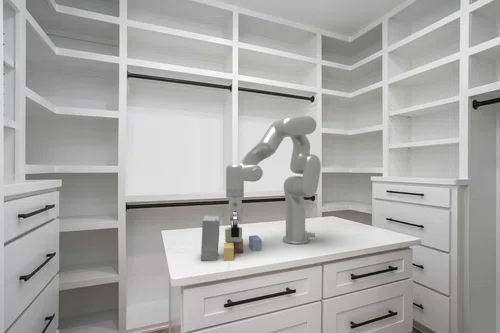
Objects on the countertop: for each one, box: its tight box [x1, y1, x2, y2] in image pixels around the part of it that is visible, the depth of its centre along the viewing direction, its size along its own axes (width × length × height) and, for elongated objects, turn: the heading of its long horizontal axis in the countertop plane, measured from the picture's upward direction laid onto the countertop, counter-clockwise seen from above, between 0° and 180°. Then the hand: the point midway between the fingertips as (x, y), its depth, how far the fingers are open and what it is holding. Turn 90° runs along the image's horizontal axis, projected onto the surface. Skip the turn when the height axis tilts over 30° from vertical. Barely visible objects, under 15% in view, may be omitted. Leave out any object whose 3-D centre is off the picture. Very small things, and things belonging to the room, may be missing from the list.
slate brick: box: [248, 234, 263, 252], centre depth 111 cm, size 7×4×5 cm, turn 14°
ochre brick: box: [223, 242, 235, 262], centre depth 100 cm, size 7×4×5 cm, turn 5°
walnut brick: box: [225, 238, 244, 255], centre depth 107 cm, size 7×4×5 cm, turn 95°
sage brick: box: [224, 226, 243, 243], centre depth 107 cm, size 7×4×5 cm, turn 94°
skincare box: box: [200, 215, 221, 262], centre depth 100 cm, size 8×7×16 cm
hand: (234, 234), depth 107 cm, fingers open, 9 cm apart
